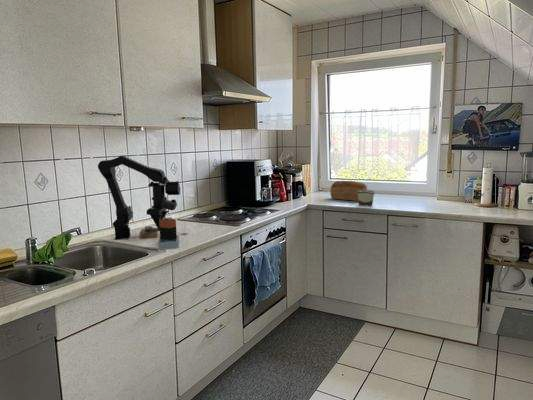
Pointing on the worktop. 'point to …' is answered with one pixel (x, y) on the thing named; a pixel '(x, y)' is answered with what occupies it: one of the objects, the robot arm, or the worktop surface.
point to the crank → (149, 228)
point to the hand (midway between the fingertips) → (160, 226)
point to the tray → (168, 243)
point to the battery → (167, 228)
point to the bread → (346, 190)
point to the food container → (365, 197)
